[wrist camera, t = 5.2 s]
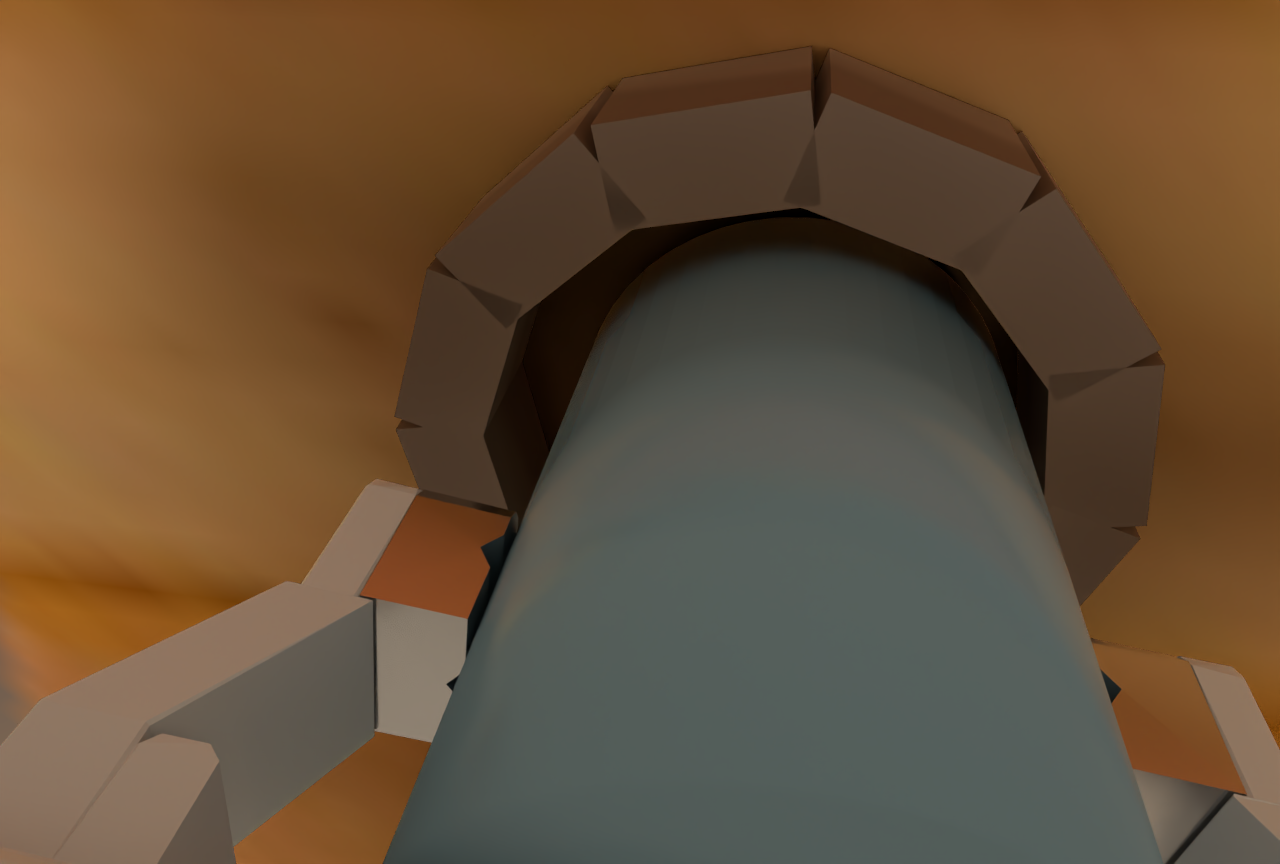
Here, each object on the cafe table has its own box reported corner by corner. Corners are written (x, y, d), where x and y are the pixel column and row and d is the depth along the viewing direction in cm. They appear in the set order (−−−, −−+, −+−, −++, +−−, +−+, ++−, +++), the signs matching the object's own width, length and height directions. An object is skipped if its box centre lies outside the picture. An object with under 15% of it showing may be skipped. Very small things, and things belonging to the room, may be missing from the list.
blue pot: (612, 176, 11) (341, 685, 5) (1073, 267, 11) (1436, 928, 5) (544, 692, 17) (373, 1257, 10) (853, 760, 17) (878, 1384, 10)
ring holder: (1276, 229, 11) (1354, 301, 10) (905, 693, 17) (913, 791, 15) (545, -68, 11) (495, -43, 9) (402, 511, 16) (355, 591, 15)
